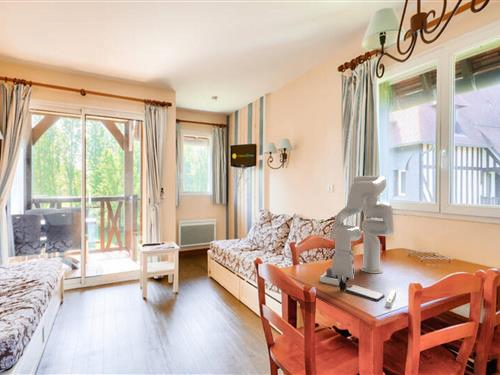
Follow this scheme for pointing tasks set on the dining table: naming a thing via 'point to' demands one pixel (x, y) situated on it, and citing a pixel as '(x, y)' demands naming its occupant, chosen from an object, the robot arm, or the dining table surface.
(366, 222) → the robot arm
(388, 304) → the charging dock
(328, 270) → the plug
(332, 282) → the white square shallow tray
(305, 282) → the dining table surface
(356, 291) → the phone case
